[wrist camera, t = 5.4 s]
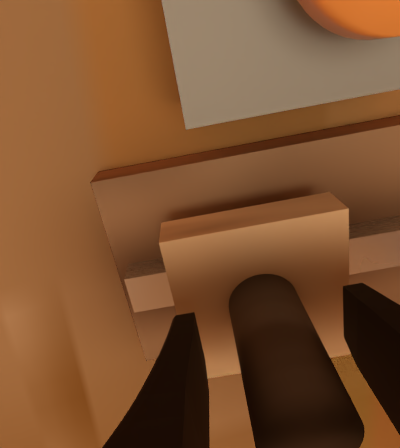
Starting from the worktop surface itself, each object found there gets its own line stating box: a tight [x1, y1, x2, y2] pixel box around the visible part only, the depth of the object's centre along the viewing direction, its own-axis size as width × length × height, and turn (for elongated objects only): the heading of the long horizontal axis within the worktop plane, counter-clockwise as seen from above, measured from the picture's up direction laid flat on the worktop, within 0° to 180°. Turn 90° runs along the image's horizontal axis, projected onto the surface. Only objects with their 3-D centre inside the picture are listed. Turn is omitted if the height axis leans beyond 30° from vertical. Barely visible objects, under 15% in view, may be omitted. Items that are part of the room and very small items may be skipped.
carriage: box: [159, 192, 364, 448], centre depth 12 cm, size 6×6×8 cm
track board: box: [90, 116, 400, 361], centre depth 16 cm, size 9×22×2 cm, turn 100°
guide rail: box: [124, 215, 400, 313], centre depth 15 cm, size 2×21×1 cm, turn 100°
